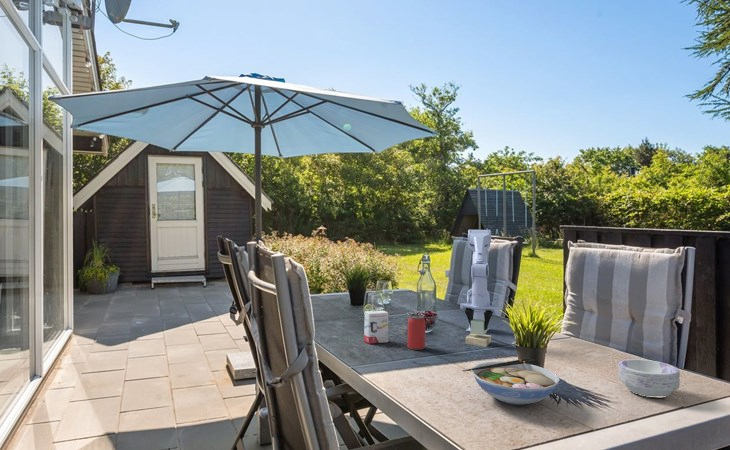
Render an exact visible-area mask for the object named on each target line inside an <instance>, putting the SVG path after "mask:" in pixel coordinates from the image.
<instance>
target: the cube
mask: <svg viewBox="0 0 730 450" xmlns="http://www.w3.org/2000/svg"><path fill="white" fill-rule="evenodd" d="M484 323H485V320H483V319H473V320H471V332H470V333H469V334H477V335H486V334H487V331H486V330H484Z"/></svg>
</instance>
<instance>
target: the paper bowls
mask: <svg viewBox="0 0 730 450" xmlns="http://www.w3.org/2000/svg"><path fill="white" fill-rule="evenodd" d="M617 367H618V368H617V370H618V376H617V377H618V380H619V382H621V383H623V384H624V385H625V387H626V389H627V390H628V391H629V390H630V391H632V392H634V393H637V394H641V395H645V396H668V395H669V396H670V395H671V393H672V391H676V390H678V389H680V384H681V383H680V381H681V380H680V377H681V376H680V369H678V367H676V366H675V365H672V364H669V363H666V362H662V361H658V360H650V359H645V358H644V359H642V358H641V359H640V358H630V359H623V360H620V361H619V362H618V365H617ZM630 391H629V392H630ZM632 392H631V393H632ZM634 393H633V394H634ZM669 396H668V397H669Z"/></svg>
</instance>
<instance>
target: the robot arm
mask: <svg viewBox="0 0 730 450" xmlns="http://www.w3.org/2000/svg"><path fill="white" fill-rule="evenodd" d="M467 232H468V233H467V246H468V249H470V250H471V251H472V253H473V254H472V264H471V269H470V270H471V271H470V272H471V273H470V274H471V275H470V276H471V283H472V284H471V288H470V289H468V290H467V292H466V293H467V294H466V302H465V303H464V302H462V303H460V308H459V309H461V310H464V314H465V315H466V317H467V320H468V323H469V326H468V328H467V329H465V331H466V332H470V333H471V320H473V319H483V320H485V323H484V330H486V332H488V331H489V330H490V327H489V323H490V320H491V319H492V316H493V314H494V313H498V312H499V306H494V305H490V303H491V302H490V301H491V299H490V298H491V297H490V296H491V295H490V294H491V293H490V292H489V291H488V278H489V271H490V270H489V269H490V268H489V263H488V254H487V253H486V251H488V250H490V247H491V244H492V243H491V242H492V231H491V229H468V230H467Z"/></svg>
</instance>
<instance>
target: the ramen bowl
mask: <svg viewBox="0 0 730 450" xmlns="http://www.w3.org/2000/svg"><path fill="white" fill-rule="evenodd" d="M530 363H531V364H530ZM532 363H536V359H532V358H531V357H525V358H522V359H514V360H510V361H507V360H505V361H504V360H498V361H497V360H496V361H495V360H494V361H485V362H482V363H478V364H476V365H475V366H473V367H472V368H468V369H463V370H461V371H462V372H472V375H473V377H474V379H475V381H476V382H477V384H478V386H479V387H480V388H481V390H483V391H484V392H486V393H487V394H488V395H489V396H490V397H491V398H494V399H497V400H499V401H501V402H503V403H505V404H507V405H511V406H512V405H513V406H525V405H528V404H534V403H538V402H541V401H542V400H545V399H547V398H548V397H549V395H550V394H552V392H553V391H554V389H556V387H557V386H558V384H559V383H560V380H561V379H560V377H559V376H558V375H557V374H556V373H555V372H554V371H551V370H549V369H547V368H545V367H541V366H539V365H534V364H532Z"/></svg>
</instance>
